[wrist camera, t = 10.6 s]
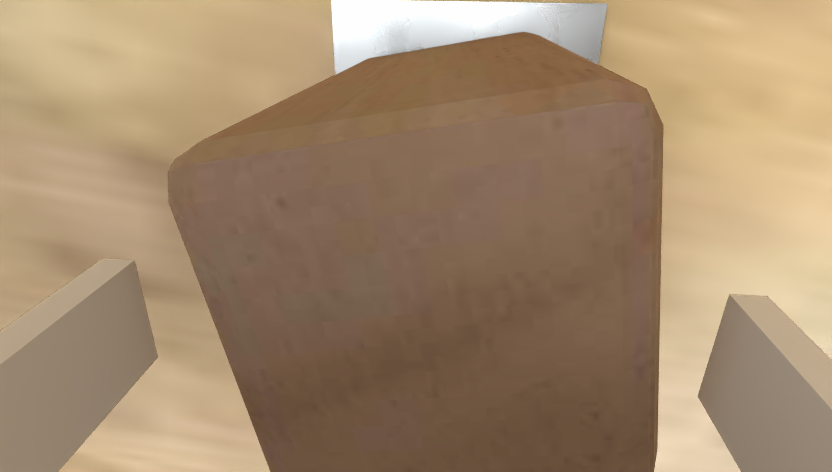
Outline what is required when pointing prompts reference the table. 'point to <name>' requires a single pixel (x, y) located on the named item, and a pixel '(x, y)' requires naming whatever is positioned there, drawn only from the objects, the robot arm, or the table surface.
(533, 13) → the press
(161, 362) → the table surface
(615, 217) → the wooden block
